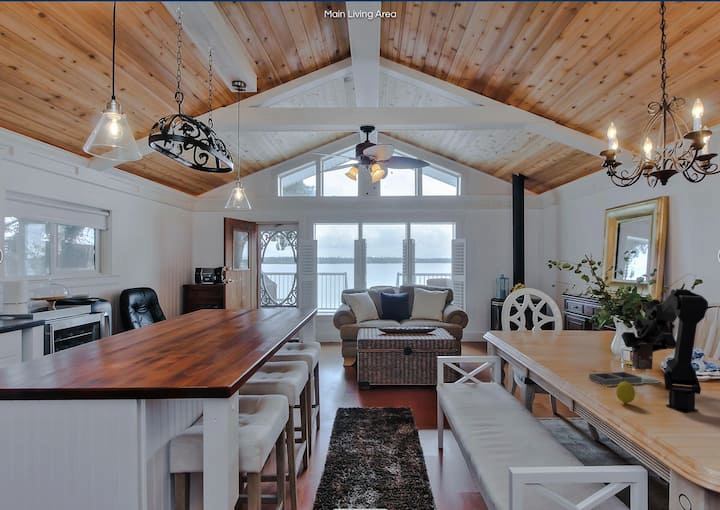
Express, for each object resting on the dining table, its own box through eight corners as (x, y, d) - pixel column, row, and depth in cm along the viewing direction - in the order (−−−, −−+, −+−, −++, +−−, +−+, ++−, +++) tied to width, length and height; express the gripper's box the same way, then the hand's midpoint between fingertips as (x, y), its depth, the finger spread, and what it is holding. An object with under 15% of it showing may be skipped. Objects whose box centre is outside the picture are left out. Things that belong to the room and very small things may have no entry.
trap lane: (661, 382, 174) (661, 376, 174) (606, 386, 168) (606, 380, 168) (640, 375, 184) (640, 370, 184) (587, 379, 178) (587, 373, 178)
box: (638, 369, 176) (638, 340, 176) (632, 366, 180) (632, 338, 180) (653, 370, 176) (653, 340, 176) (646, 367, 180) (646, 338, 180)
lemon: (625, 407, 145) (626, 383, 145) (612, 401, 150) (612, 379, 150) (638, 406, 147) (639, 382, 147) (624, 400, 152) (625, 378, 152)
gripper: (673, 314, 173) (657, 336, 184) (623, 312, 175) (611, 334, 186) (685, 337, 165) (667, 359, 176) (633, 335, 167) (619, 357, 178)
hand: (640, 351), depth 179 cm, fingers closed on box, 6 cm apart
